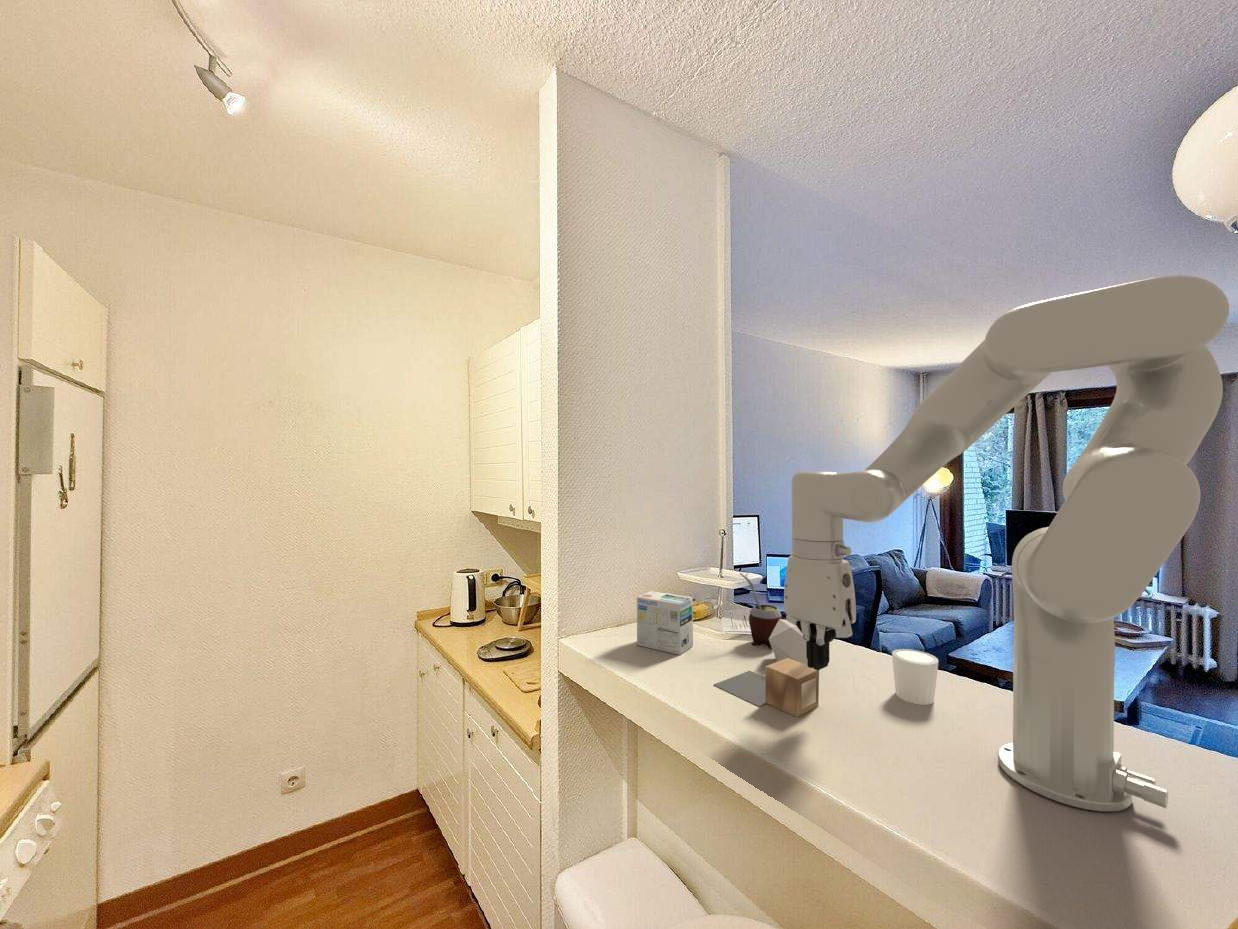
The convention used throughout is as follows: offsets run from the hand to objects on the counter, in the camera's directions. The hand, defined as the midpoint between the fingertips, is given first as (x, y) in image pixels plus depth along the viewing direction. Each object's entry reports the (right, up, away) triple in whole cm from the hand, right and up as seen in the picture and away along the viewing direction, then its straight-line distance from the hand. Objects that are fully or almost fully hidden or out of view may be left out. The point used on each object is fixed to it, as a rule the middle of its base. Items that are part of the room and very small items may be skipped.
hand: (817, 666), depth 80 cm
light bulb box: (-21, -8, +30) cm, 38 cm away
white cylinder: (+19, -8, +6) cm, 21 cm away
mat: (-7, -8, +10) cm, 14 cm away
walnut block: (-1, -5, +1) cm, 5 cm away
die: (+3, -8, +21) cm, 22 cm away
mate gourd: (0, -8, +31) cm, 32 cm away
